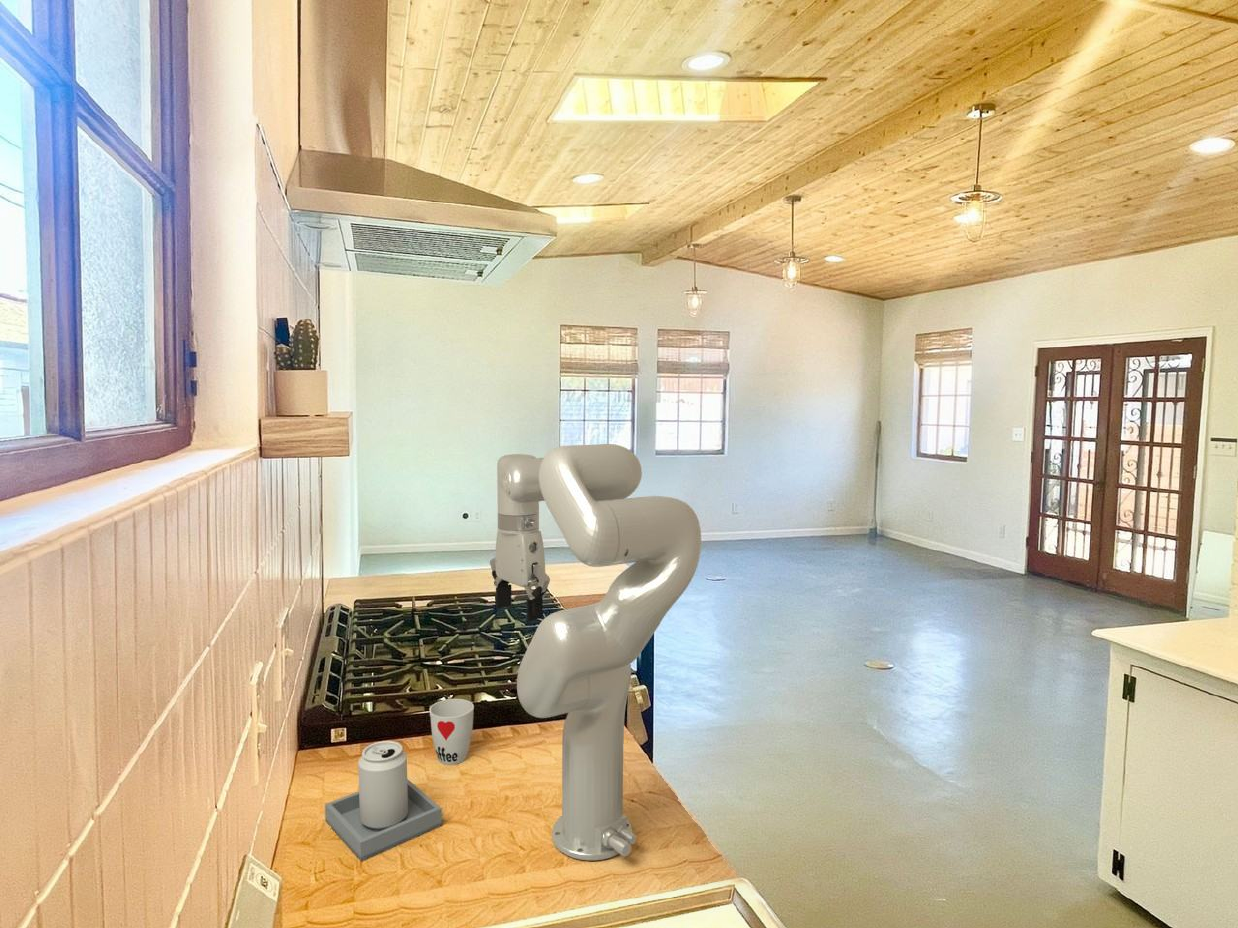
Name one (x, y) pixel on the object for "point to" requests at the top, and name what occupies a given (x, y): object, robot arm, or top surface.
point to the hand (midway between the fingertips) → (518, 612)
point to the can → (383, 785)
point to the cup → (451, 729)
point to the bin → (372, 842)
